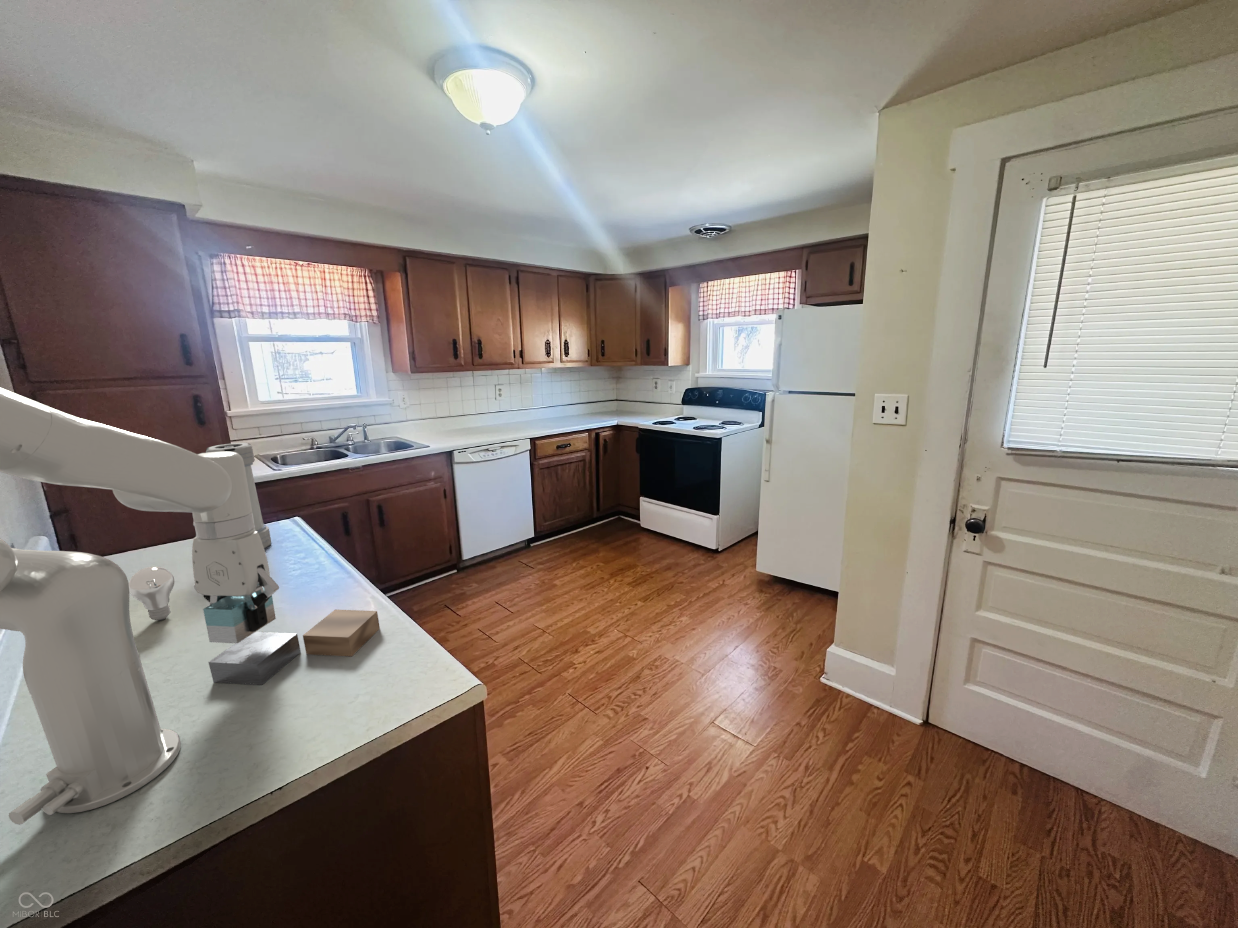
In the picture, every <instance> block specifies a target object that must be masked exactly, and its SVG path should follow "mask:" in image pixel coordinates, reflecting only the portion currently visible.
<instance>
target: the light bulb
mask: <svg viewBox="0 0 1238 928" xmlns="http://www.w3.org/2000/svg"><path fill="white" fill-rule="evenodd" d="M175 582H176V581H175V576H174V574H173V573H172V572H171V570H169V569H167V568H165V567H161V566H156V565H155V566H147V567H144V568H141V569H140V570H138V571H136V572H135V573H134V574H133V575H132V576H131V578H130V579H129V580H128V583H129V595H130V596H132V598H134V599H135V600H137V601H138V602H140V603H142V605H143V607H144V608H145V609H146V611H147V613H148V618H149V619H151V620H154V621H157V622H162V621H165V620H166V618H167V617H169V615H170V614H171V608H170V605H169V603H170V595H171V593H172V591H173V589H174V586H175Z"/></svg>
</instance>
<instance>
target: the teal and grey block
mask: <svg viewBox="0 0 1238 928" xmlns="http://www.w3.org/2000/svg"><path fill="white" fill-rule="evenodd" d="M263 589H264V587H263ZM252 595H253V597H254V599H256V598H257V595H256V593H253V594H252ZM273 599H274V598H273V595H272V596H271V597H270V598H269V599H268V602H267V603H265V608H266V614H267V620H268V622H267V624H266V625H264V626H262V627H261V628H259V629H258V630H256V631H255V632H259V630H260V629H262V628H264V627H265V626H267V625H268V624H270V623H271V622H273V621H275V620H276V619H277V617H276V612H275V606H274V601H273ZM248 609H249V607H248V605H247V603H246V601H245V599H244V597H234V596H227V597H225V598H223V599H221V600H219V601H217V602H215V603H213V604H211V605H210V604H209V605H208V606H205V607H204V608H202V610H203V615H204V620H205V625H206V631H207V636H208V641H209V643H217V644H218V643H219V644H220V643H221V644H235V643H239V642H240V641H242V640H244V639H245V638H247V637H248V636H250V635H251V634H253V633H254V632H250V630H249V626H248V620H247V614H246V611H247V610H248Z"/></svg>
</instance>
